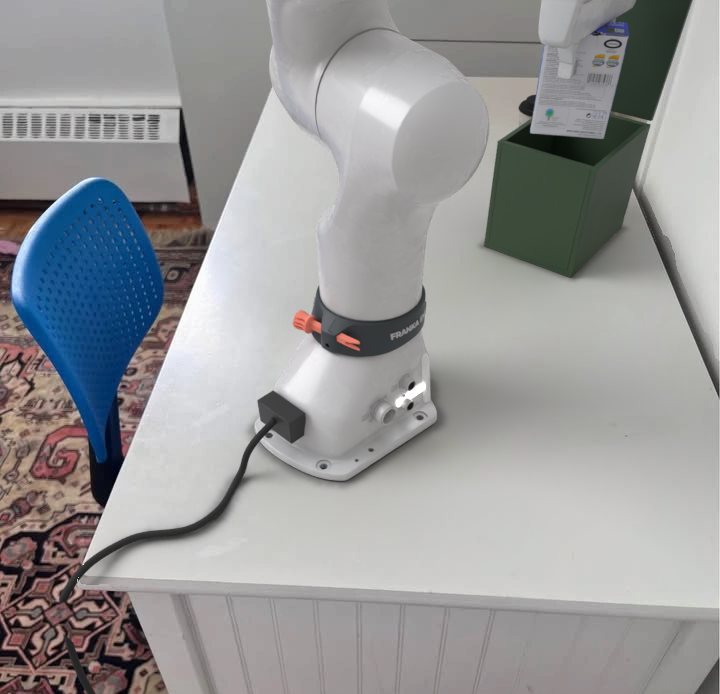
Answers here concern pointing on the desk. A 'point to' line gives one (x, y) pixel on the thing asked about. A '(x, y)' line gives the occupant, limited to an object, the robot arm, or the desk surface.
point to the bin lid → (648, 54)
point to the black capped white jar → (526, 109)
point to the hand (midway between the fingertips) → (580, 67)
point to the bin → (562, 193)
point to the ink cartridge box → (581, 86)
